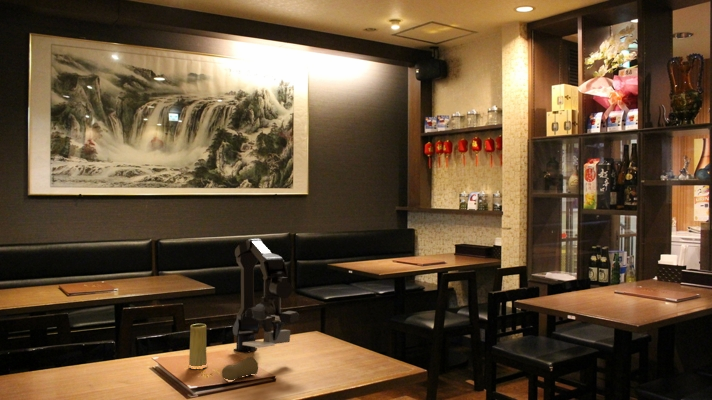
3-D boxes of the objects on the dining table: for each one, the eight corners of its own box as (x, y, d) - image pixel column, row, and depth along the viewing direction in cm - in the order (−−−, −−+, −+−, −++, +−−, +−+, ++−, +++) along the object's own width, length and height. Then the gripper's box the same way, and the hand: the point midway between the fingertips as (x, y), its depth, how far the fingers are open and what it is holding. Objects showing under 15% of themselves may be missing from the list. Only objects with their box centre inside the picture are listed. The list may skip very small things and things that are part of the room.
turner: (242, 344, 195) (243, 332, 195) (278, 340, 212) (279, 328, 212) (259, 347, 191) (260, 335, 192) (294, 342, 209) (295, 331, 209)
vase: (184, 368, 200) (185, 326, 200) (196, 364, 205) (196, 322, 205) (199, 371, 197) (200, 328, 197) (210, 366, 203) (211, 324, 203)
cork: (254, 379, 193) (228, 389, 184) (243, 367, 196) (216, 376, 188) (260, 364, 191) (234, 373, 183) (248, 352, 194) (222, 361, 186)
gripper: (235, 294, 200) (234, 341, 200) (280, 300, 191) (279, 348, 191) (256, 290, 210) (255, 334, 210) (300, 295, 201) (299, 341, 201)
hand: (271, 339), depth 203 cm, fingers closed on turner, 2 cm apart
